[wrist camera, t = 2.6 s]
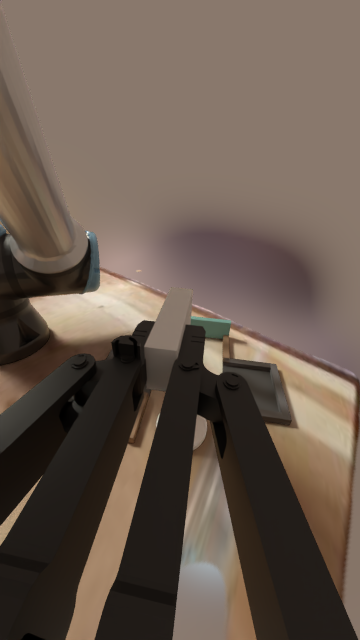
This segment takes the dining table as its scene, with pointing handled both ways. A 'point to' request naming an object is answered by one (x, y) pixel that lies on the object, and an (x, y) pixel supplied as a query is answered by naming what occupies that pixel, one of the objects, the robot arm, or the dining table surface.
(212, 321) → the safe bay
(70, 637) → the dining table surface
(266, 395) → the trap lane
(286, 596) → the robot arm
